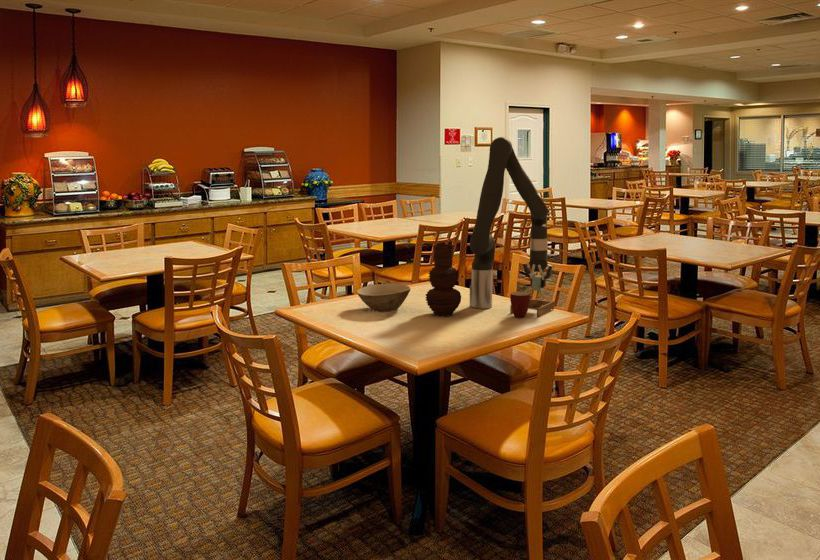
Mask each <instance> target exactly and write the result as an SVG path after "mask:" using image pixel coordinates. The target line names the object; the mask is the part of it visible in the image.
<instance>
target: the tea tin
mask: <svg viewBox="0 0 820 560" xmlns="http://www.w3.org/2000/svg"><path fill="white" fill-rule="evenodd" d="M541 280H542V278H541V275H540V274H539V275H538V274H535V276H532V287H531V291H538V292H541V291H544V290H545V287H544V288H541Z"/></svg>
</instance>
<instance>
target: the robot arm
mask: <svg viewBox="0 0 820 560" xmlns="http://www.w3.org/2000/svg"><path fill="white" fill-rule="evenodd" d="M506 171H507V173H508V174H509V177H510V179H511V181H512V183H513V186H514V187H515V188H516V191H517V192H518V194H519V196H520V198H521V199H522V200H523V201H524V202H525V205H526V207H527V208H528V210H529V212H530V223H531V224H530V225H531V226H530V242H529V262H528V263H527V262H526V263H523V265H522V267H523V269H524V272H525V273H524V274H525V275H526V278H529V279H530V282H529V283H530V285H529V286H531V288H532V276H535V275H537V272H538V273H539V276H541V278H542V280H541V288H544V289H545V287H546V285H547V280H548V279H550V278H551V276H552V273H553V271H554V268H555V266H554V265H551V264H549V263H548V248H549V247H548V246H549V245H548V226H547V217H548V215H549V208H548V206H547V205H546V203H545V202H544V200H543V199H542V197H541V196H540V195H539V193H538V191H537V188H536V187H535V185H534V183H533V182H532V180H531V179H530V177H529V175H528V174H527V173H526V171H525V170H524V169H523V167H522V165H521V163H520V161H519V159H518V157H517V155H516V153H515V150H514V148H513V144H512V141H511V140H510V139H508V137H504V136H500V137H499V136H498V137H495V139H493V140H492V141H491V143H490V145H489V153H488V165H487V171H486V173H485V177H484V179H483V183H482V188H481V192H480V196H479V201H478V206H477V207H478V208H477V213H476V218H475V219H476V220H475V222H474V223H475V224H474V227H473V230H472V232H471V236H470V239H469V248H470V251H471V252H472V253H473V254H474V256H473V257H474V258H473V260H472V262H471V284H470V285H469V307H472V308H474V309H490V308H492V307H493V270H494V269H493V266H494V263H495V247H496V245H495V244H496V243H495V238H494V236H493V235H492V234H491V230H492V225H493V223H494V220H495V218H496V216H497V214H498V212H499V209H500V206H501V203H502V199H503V193H504V184H505V173H506ZM530 269H531V270H530ZM546 269H547V272H546Z"/></svg>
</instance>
